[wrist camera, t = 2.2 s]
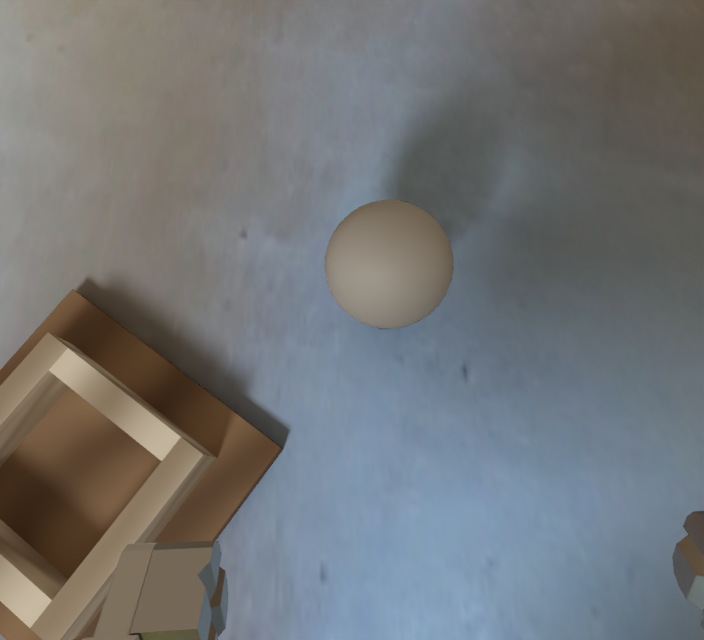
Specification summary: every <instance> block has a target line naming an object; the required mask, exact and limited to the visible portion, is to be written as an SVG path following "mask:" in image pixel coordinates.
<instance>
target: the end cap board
mask: <svg viewBox="0 0 704 640" xmlns="http://www.w3.org/2000/svg"><path fill="white" fill-rule="evenodd" d="M282 450H283V448H281V447H280V446H279V445H277V444H276V443H275V442H273V441H272V440H271V439H269V438H268V437H267V436H266V435H264V434H263V433H262V432H260V431H259V430H258V429H256V428H255V427H254V426H252V425H251V424H250V423H248V422H247V421H246V420H244V419H243V418H242V417H241V416H239V415H238V414H237V413H235V412H234V411H233V410H231V409H230V408H229V407H227V406H226V405H225V404H223V403H222V402H221V401H220V400H218V399H217V398H216V397H214V396H213V395H212V394H210V393H209V392H208V391H206V390H205V389H204V388H202V387H201V386H200V385H199V384H197V383H196V382H195V381H193V380H192V379H191V378H189V377H188V376H187V375H185V374H184V373H183V372H181V371H180V370H179V369H178V368H176V367H175V366H174V365H172V364H171V363H170V362H168V361H167V360H166V359H164V358H163V357H162V356H160V355H159V354H158V353H157V352H155V351H154V350H153V349H151V348H150V347H149V346H147V345H146V344H145V343H143V342H142V341H141V340H139V339H138V338H137V337H136V336H134V335H133V334H132V333H130V332H129V331H128V330H126V329H125V328H124V327H122V326H121V325H120V324H118V323H117V322H116V321H115V320H113V319H112V318H111V317H109V316H108V315H107V314H105V313H104V312H103V311H101V310H100V309H99V308H97V307H96V306H95V305H94V304H92V303H91V302H90V301H88V300H87V299H86V298H84V297H83V296H82V295H80V294H79V293H77V292H76V291H75V290H73V289H72V290H71V291H70V293H69V294H68V295H67V296H66V297H65V298H64V299H63V300H62V302H61V303H60V304H59V305H58V306H57V307H56V308H55V309H54V311H53V312H52V313H51V314H50V315H49V316H48V317H47V318H46V320H45V321H44V322H43V323H42V324H41V325H40V326H39V327H38V329H37V330H36V331H35V332H34V333H33V334H32V335H31V336H30V338H29V339H28V340H27V341H26V342H25V343H24V344H23V345H22V346H21V348H20V349H19V350H18V351H17V352H16V353H15V354H14V355H13V357H12V358H11V359H10V360H9V361H8V362H7V363H6V364H5V366H4V367H3V368H2V369H1V370H0V634H1V635H2V636H3V637H4V638H6V639H7V640H82V639H83V638H89V637H93V636H94V633H95V630H96V627H97V624H98V621H99V618H100V615H101V612H102V609H103V606H104V603H105V600H106V597H107V594H108V591H109V588H110V585H111V582H112V579H113V576H114V573H115V570H116V567H117V564H118V561H119V559H120V556H121V553H122V552H123V550H124V549H125V547H126V546H127V544H140V543H161V542H193V541H215V540H216V539H217V538H218V536H219V535H220V534H221V532H222V531H223V530H224V528H225V527H226V526H227V524H228V523H229V522H230V520H231V519H232V517H233V516H234V515H235V513H236V512H237V511H238V509H239V508H240V507H241V505H242V504H243V503H244V501H245V500H246V499H247V497H248V496H249V495H250V493H251V492H252V491H253V489H254V488H255V486H256V485H257V484H258V482H259V481H260V480H261V478H262V477H263V476H264V474H265V473H266V472H267V470H268V469H269V468H270V466H271V465H272V464H273V462H274V461H275V460H276V458H277V457H278V455H279V454H280V453H281V451H282Z"/></svg>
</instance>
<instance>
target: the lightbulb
mask: <svg viewBox="0 0 704 640" xmlns="http://www.w3.org/2000/svg"><path fill="white" fill-rule="evenodd" d="M325 273H326V278H327V283H328V286H329V289H330V291H331V294H332V296H333V297H334V299H335V300H336V302H337V303H338V304H339V306H340V307H341V308H342V309H343V310H344V311H345V312H346V313H348V314H349V315H350V316H352V317H353V318H355V319H356V320H358V321H359V322H362V323H364V324H367V325H369V326H372V327H377V328H380V329H390V328H400V327H405V326H408V325H410V324H413V323H415V322H418V321H420V320H421V319H423V318H424V317H426V316H427V315H429V314H430V313H431V312H432V311H433V310H434V309H435V308H436V307H437V306H439V304H440V303H441V301H442V300H443V298H444V297H445V295H446V293H447V290H448V288H449V285H450V283H451V280H452V274H453V255H452V250H451V246H450V242H449V240H448V238H447V236H446V234H445V232H444V230H443V229H442V227H441V226H440V225H439V224H438V222H437V221H436V220H435V219H434V218H433V217H432V216H431V215H430V214H429V213H427V212H426V211H425V210H423V209H421V208H419V207H418V206H416V205H413V204H410V203H407V202H403V201H397V200H381V201H376V202H371V203H369V204H366V205H363V206H361V207H359V208H358V209H356V210H354V211H353V212H351V213H350V214H349V215H348V216H347V217H346V218H345V219H344V220H343V221H342V222H341V223H340V224H339V225H338V227H337V228H336V229H335V231H334V232H333V234H332V237H331V239H330V241H329V244H328V246H327V251H326V255H325Z"/></svg>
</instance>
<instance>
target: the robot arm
mask: <svg viewBox="0 0 704 640" xmlns="http://www.w3.org/2000/svg"><path fill="white" fill-rule="evenodd" d="M683 527H684V528H685V530H686V532H687V533H688V535H687V536H686V537H685V538H683V539H682V540H681V541H680V542H678V543H677V544H676V548H675V551H674V554H673V566H674V574H675V576H676V579H677V582H678V585H679V587H680V589H681V591H682V592H683V594H684V596H685V598H686V600H688V601H689V602H691V603H692V604H693V605H695V606H696V607H697V608H699V609H700V610H702V611H703V612H702V619H701V625H702V627H703V629H704V511H695V512H692V513H691V514H690V515H688V516H687V518H686V521H685V523H684V526H683ZM221 555H222V553H221V549H220V545H219V541H193V542H161V543H140V544H127V546H126V547H125V549H124V550H123V552H122V553H121V556H120V559H119V561H118V564H117V567H116V570H115V573H114V576H113V579H112V582H111V585H110V588H109V591H108V594H107V597H106V600H105V603H104V606H103V609H102V612H101V615H100V618H99V621H98V624H97V627H96V630H95V633H94V636H93V637H89V638H83V639H82V640H218V637H219V636H220V634H221V633H222V632H223V631H224V630H225V628H226V620H227V612H228V584H227V577H226V572H225V570H224V569H222V568H221V567H220V561H221Z"/></svg>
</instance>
